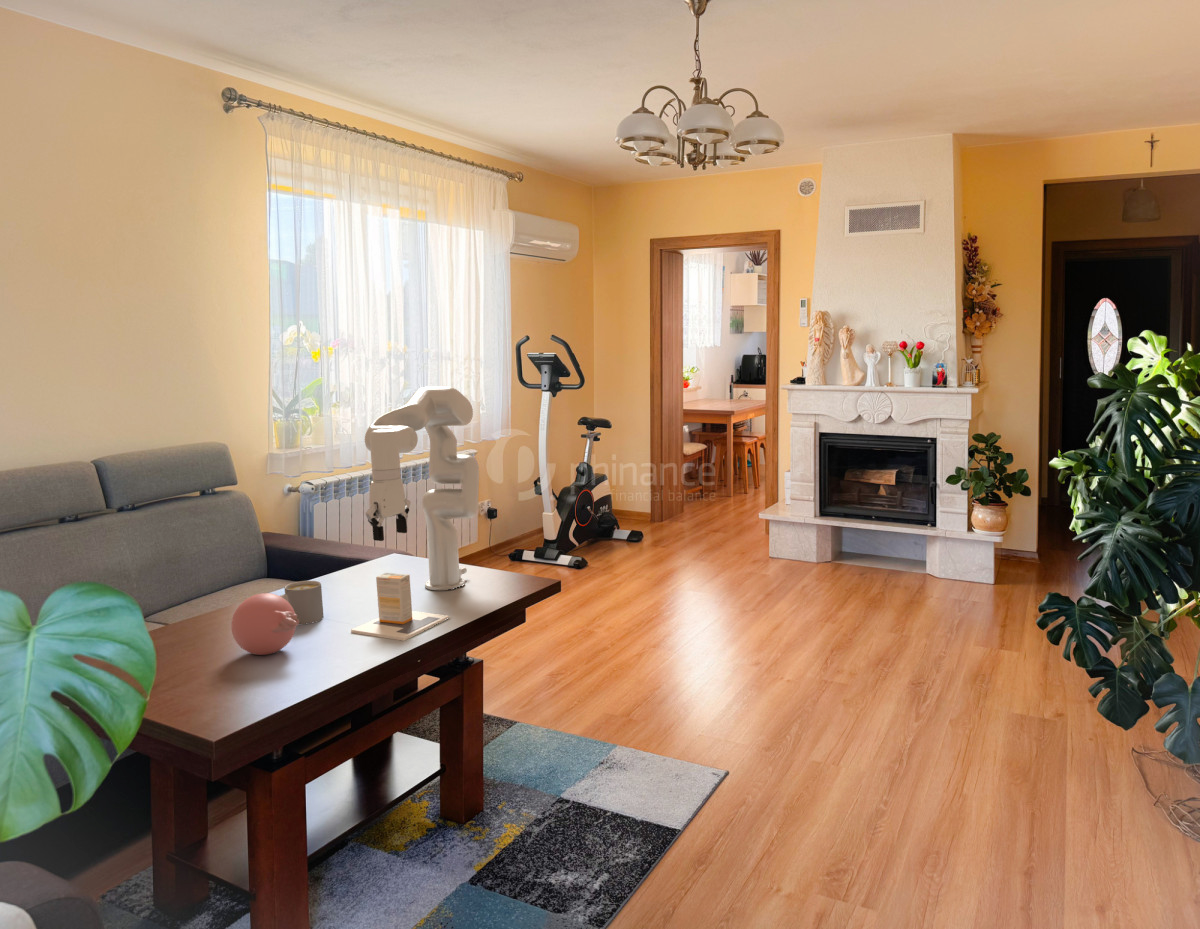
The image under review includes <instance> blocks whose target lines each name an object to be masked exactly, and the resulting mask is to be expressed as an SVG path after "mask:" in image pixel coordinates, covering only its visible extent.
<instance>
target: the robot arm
mask: <svg viewBox="0 0 1200 929" xmlns="http://www.w3.org/2000/svg"><path fill="white" fill-rule="evenodd" d="M473 416H474V410H473V406H472V403H471V402H470V400H469V399H468V398H467V396H465V395H464V394H463V393H461V391H459V390H458V389H456V388H454V387H451V386H425V387H420V388H418V389H417V390H416V391H415V392H413V394H412V395H411V396H410V398H409V399H408V400H407V401H406V402H405V403H404V405H403V406H401V407H397V408H395V409H393V410H390V411H389V412H386V413H384V414H382V415H380V416H378V417H377V418H375V419H374V421H373V422H372V423H370V425H369V426H368V428H367V430H366V432H365V435H364V443H365V444H364V445H365V447H366V448H367V450H368V451H369V452H370V461H371V473H372V474H371V476H372V481H371V482H370V486H369V499H368V500H369V504H368V506H369V508H368V510H366V511H365V517H366V518H367V522H368V523H369V524H370V527H372V537H373V538H372V539H373V541H377V542H378V541H380V542H382V541H383V542H384V541H385V536H384V535H385V534H384V533H385V532H384V526H383V523H384V520H385V519H388V518H391V517H395V516H396V518H395V525H396V532H397V533H400V534H407V533H408V525H407V522H408V521H407V520H408V517H409V516H408V514H409V512H410V508H411V507H410V506H411V501H410V500H409V499H407V498H406V497H405V489H404V484H403V480H402V473H401V459H400V458H401V456H400V454H406V453H407V454H408V453H410V452H412V451H414V449H416V446H417V444H418V441H419V440H418V439H419V438H418V433H417V431H420V430H422V429H424V428H425V430H426V432H427V435H428V439H429V461H428V462H429V463H428V476H429V479H430V481H431V482H432V483H433V484H436V485H452V486H453V485H455V486H456V485H460V486H461V487H462V488H434V489H433V488H432V489H430V490H428V491H426V492H425V493H424V494H423V496H422V501H421V503H422V510H423V513H424V519H425V525H426V538H427V555H428V574H429V575H428V576H429V579H428V580H427V581H426V582H424V583H425V584H424V586H425V588H426V589H428V590H431V591H449V590H448V589H451V590H454V589H453V588H456V589H458V588H457V587H459V588H461V587H460V586H462V585H463V584H464V583H465V579H464V578H461V577H462V575H463V574H466V573H467V568H466V567H462V568H460V561H459V560H460V559H459V558H460V557H459V543H458V542H459V541H458V529H457V527H456V526H455V524H454V522H453V521H452V520H451V519H454V520H455V519H458V520H459V519H461V520H463V519H464V520H465V519H472V518H474V517H475V516H476V515H477V512H478V508H479V507H478V506H479V487H480V467H479V463H478V460H477V458H476V457H474V456H473V455H470V454H458V453H457V452H458V450H457V449H458V448H457V447H458V440H457V437H456V435H455V433H454V432H453V431H452V430H451V428H449V427H451V426H452V427H453V426H456V427H457V426H459V427H460V426H467V425H469V424H470V423H471V422H472V420H473ZM465 584H466V583H465ZM465 584H464V585H465ZM464 585H463V586H464ZM463 586H462V587H463Z"/></svg>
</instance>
